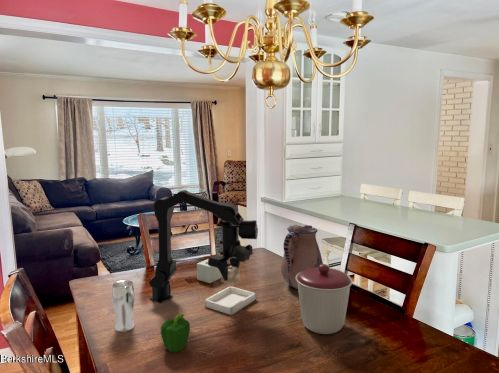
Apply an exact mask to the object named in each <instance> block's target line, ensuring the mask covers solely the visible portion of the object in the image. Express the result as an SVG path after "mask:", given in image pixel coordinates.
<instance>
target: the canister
mask: <svg viewBox="0 0 499 373" xmlns="http://www.w3.org/2000/svg"><path fill="white" fill-rule="evenodd" d="M295 279H296V281H297V282H298V289H297V290H298V291H297V292H298V299H299V300H298V301H299V309H300V316H301V320H302V323H303V325H304V327H305V328H307V330H308V331H309V330H310V331H311V332H313V333H316V334H321V335H331V334H335V333H338V332H339V331H340V330H341V329H342V328H343V327H344V324H345V320H346V315H347V309H348V303H349V296H350V290H351V286H352V285H353V279H352V277H351V276H350V275H348V274H347V273H345V272H343V271H341V270H339V269H336V268H330V266H329V265H328V264H325V263H323V264H321V265H319V267H316V268H309V269H306V270H303V271H302V272H300V273H298V274H297V275H296V277H295Z"/></svg>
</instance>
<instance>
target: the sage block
mask: <svg viewBox="0 0 499 373" xmlns="http://www.w3.org/2000/svg"><path fill="white" fill-rule="evenodd" d="M208 259H209V258H206V259H205V260H202V261H200V262H198V263H196V277H197V278H196V280H197V281H201V282H204V283H208V284H211V283H213V282H215V281H217V280H221V273H220V271H219V269H218V268H217V267H213V266H209V265H208Z"/></svg>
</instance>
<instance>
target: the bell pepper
mask: <svg viewBox="0 0 499 373" xmlns="http://www.w3.org/2000/svg"><path fill="white" fill-rule="evenodd" d="M184 316H185V314H184V313H180V314H177V315H176V316H175V317H174V319H172V318H167V319H166V320H165V321H164V322H163V323H162V324H161V325H160V326H161V327H160V335H161V339H162V343H163V345H164V348H165V349H166V350H169V352H171V353H178V352H182V350H183V349H184V348H185V347H186V345H188V344H187V343H188V340H189V336H190V331H191V330H190V329H191V327H190V326H191V324H190V322H189V321H188V320H187V319H185V318H184Z"/></svg>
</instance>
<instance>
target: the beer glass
mask: <svg viewBox="0 0 499 373" xmlns="http://www.w3.org/2000/svg"><path fill="white" fill-rule="evenodd" d="M111 302H112V306H113V307H112V308H113V310H114V311H113V312H114V315H115V325H114V326H115V327H114V329H115V331H116V332H119V333H120V332H121V333H124V332H125V333H126V332H130V331H132V330H133V329H134V328H135V321H134V314H133V313H134V308H135V307H134V306H135V288H134V282H133V281H132V280H130V279H124V280H118V281H115V282H113V283H112V285H111Z"/></svg>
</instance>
